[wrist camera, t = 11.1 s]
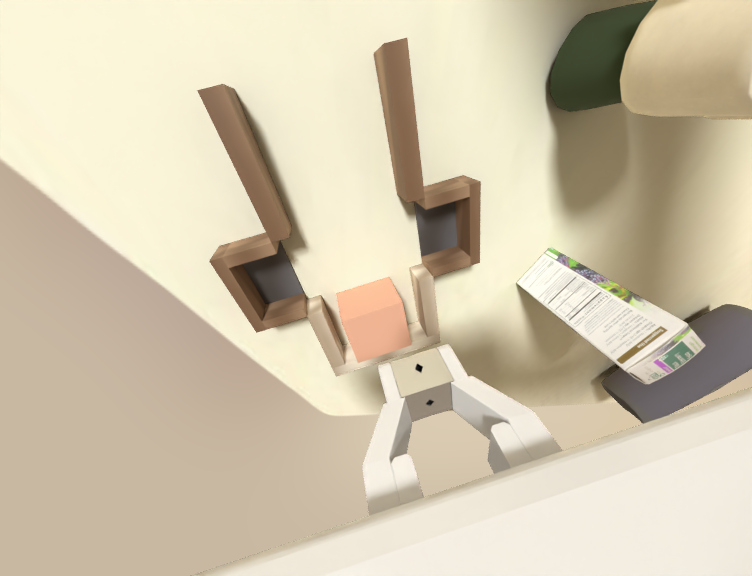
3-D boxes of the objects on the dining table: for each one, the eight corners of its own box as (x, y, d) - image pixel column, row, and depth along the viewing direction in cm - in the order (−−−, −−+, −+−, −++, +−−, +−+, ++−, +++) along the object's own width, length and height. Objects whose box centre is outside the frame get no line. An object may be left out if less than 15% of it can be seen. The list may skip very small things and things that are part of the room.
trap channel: (459, 31, 19) (482, 18, 17) (466, 314, 35) (479, 329, 32) (137, 113, 18) (110, 112, 15) (295, 370, 33) (294, 390, 31)
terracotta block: (388, 276, 29) (402, 302, 25) (397, 316, 33) (411, 345, 28) (336, 292, 29) (341, 322, 25) (351, 331, 32) (357, 363, 28)
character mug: (635, 80, 24) (906, 49, 13) (568, 149, 26) (754, 172, 15) (592, -51, 18) (990, -286, 8) (512, 50, 21) (738, -24, 10)
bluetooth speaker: (600, 387, 55) (652, 434, 47) (589, 370, 50) (644, 419, 42) (711, 317, 50) (792, 356, 41) (710, 290, 45) (801, 329, 37)
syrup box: (571, 265, 34) (714, 344, 22) (537, 300, 36) (650, 388, 24) (548, 245, 32) (695, 322, 20) (513, 284, 34) (627, 374, 22)
